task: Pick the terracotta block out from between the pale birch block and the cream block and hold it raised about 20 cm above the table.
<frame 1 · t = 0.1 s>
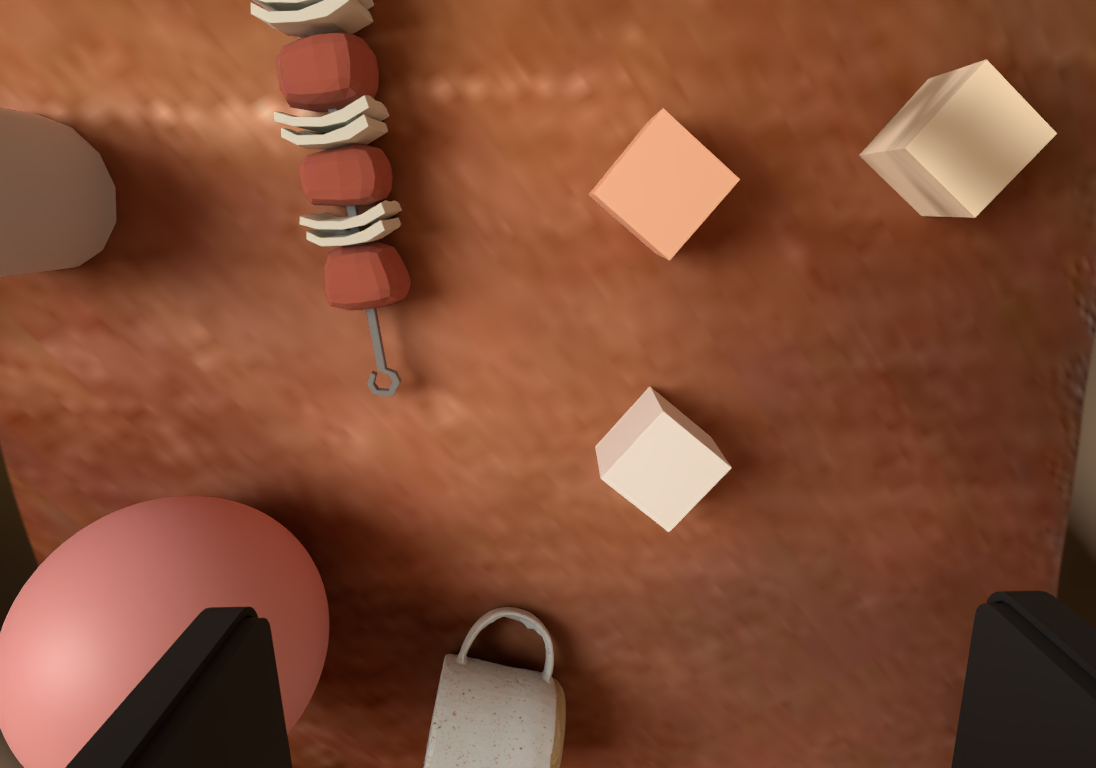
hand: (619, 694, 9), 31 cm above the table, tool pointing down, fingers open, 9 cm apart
terracotta block: (651, 188, 37), on the table
ceramic mug: (498, 667, 45), on the table
balloon: (251, 595, 44), on the table
birch block: (924, 149, 36), on the table
skewer: (349, 123, 37), on the table
cup: (44, 194, 38), on the table
cream block: (652, 441, 41), on the table
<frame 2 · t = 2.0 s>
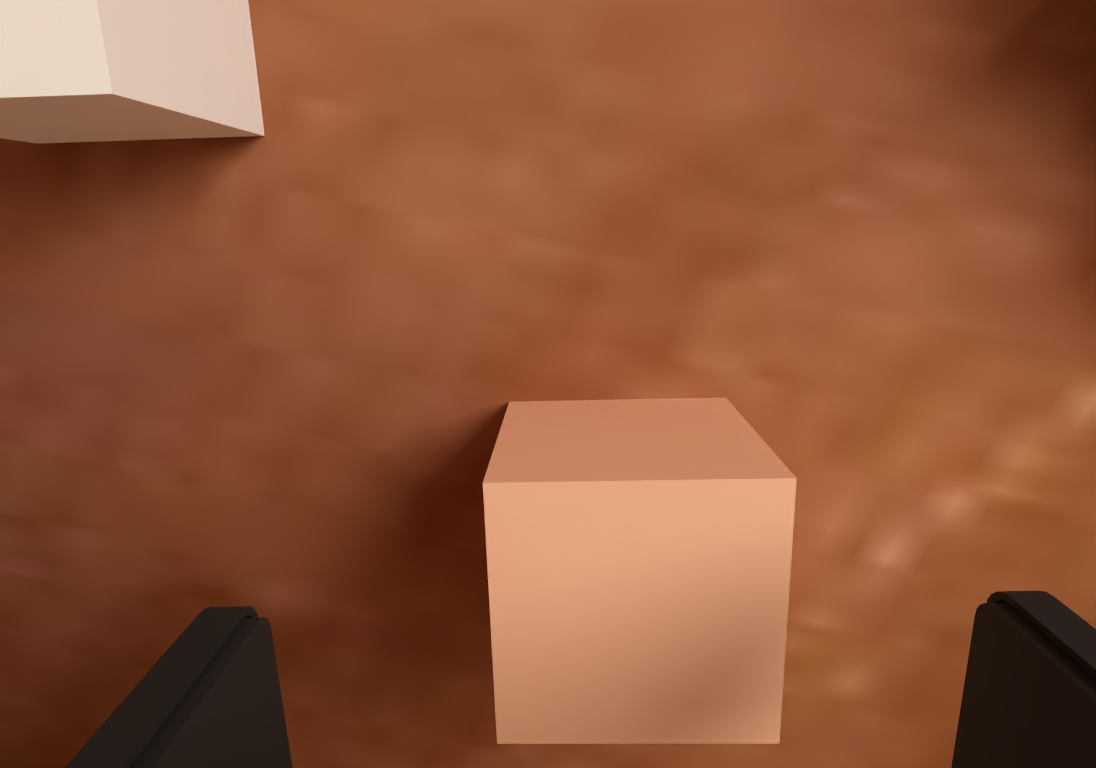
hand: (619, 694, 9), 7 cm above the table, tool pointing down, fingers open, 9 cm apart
terracotta block: (617, 498, 16), on the table
cream block: (132, 12, 14), on the table
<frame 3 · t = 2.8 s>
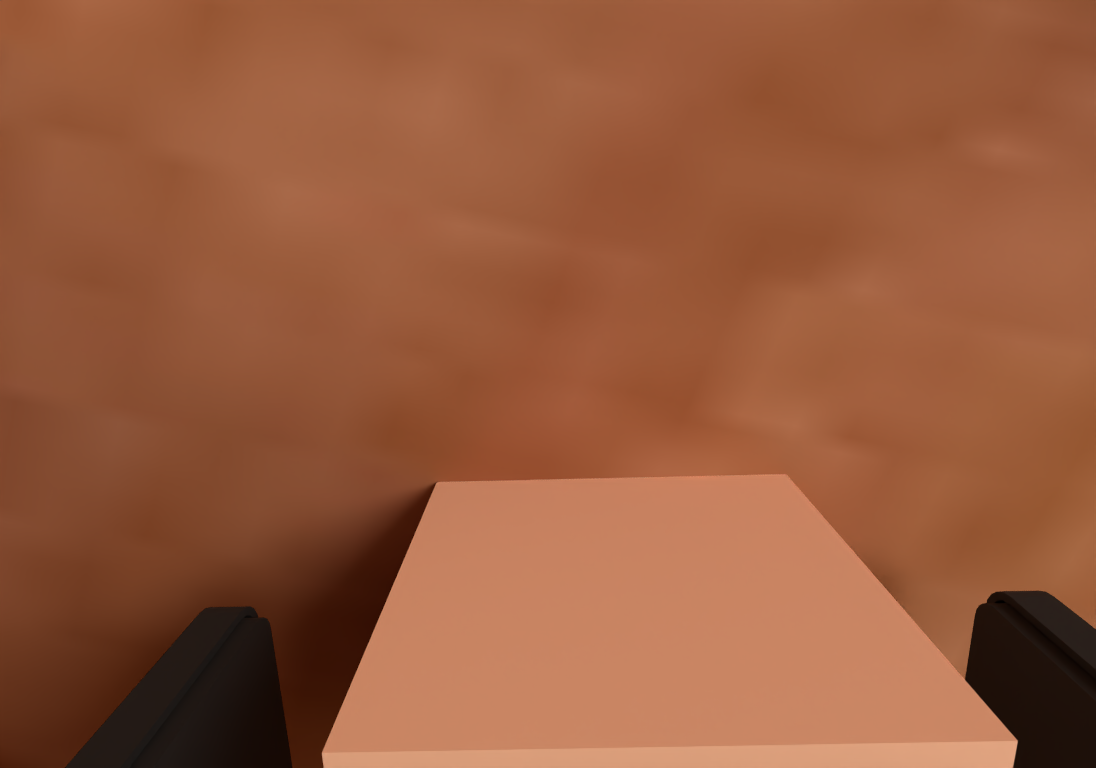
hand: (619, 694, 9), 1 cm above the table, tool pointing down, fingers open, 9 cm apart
terracotta block: (611, 627, 10), on the table
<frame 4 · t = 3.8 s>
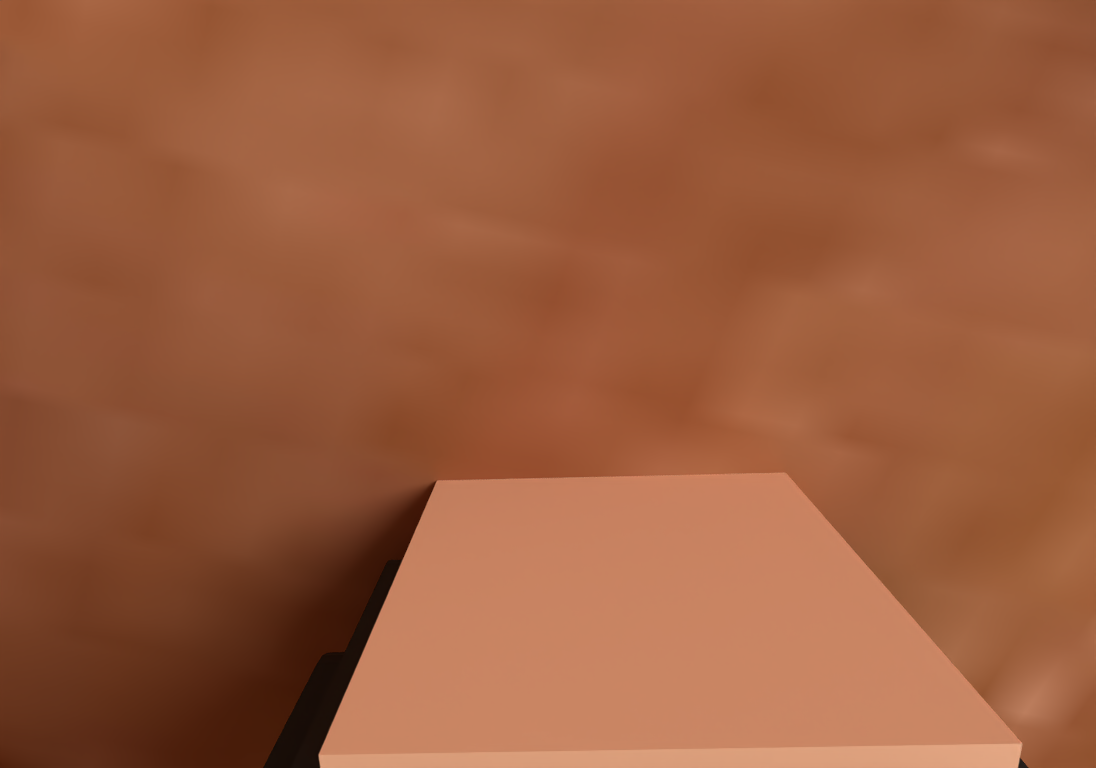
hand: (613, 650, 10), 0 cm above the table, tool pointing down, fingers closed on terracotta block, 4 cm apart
terracotta block: (611, 628, 10), on the table, touching gripper
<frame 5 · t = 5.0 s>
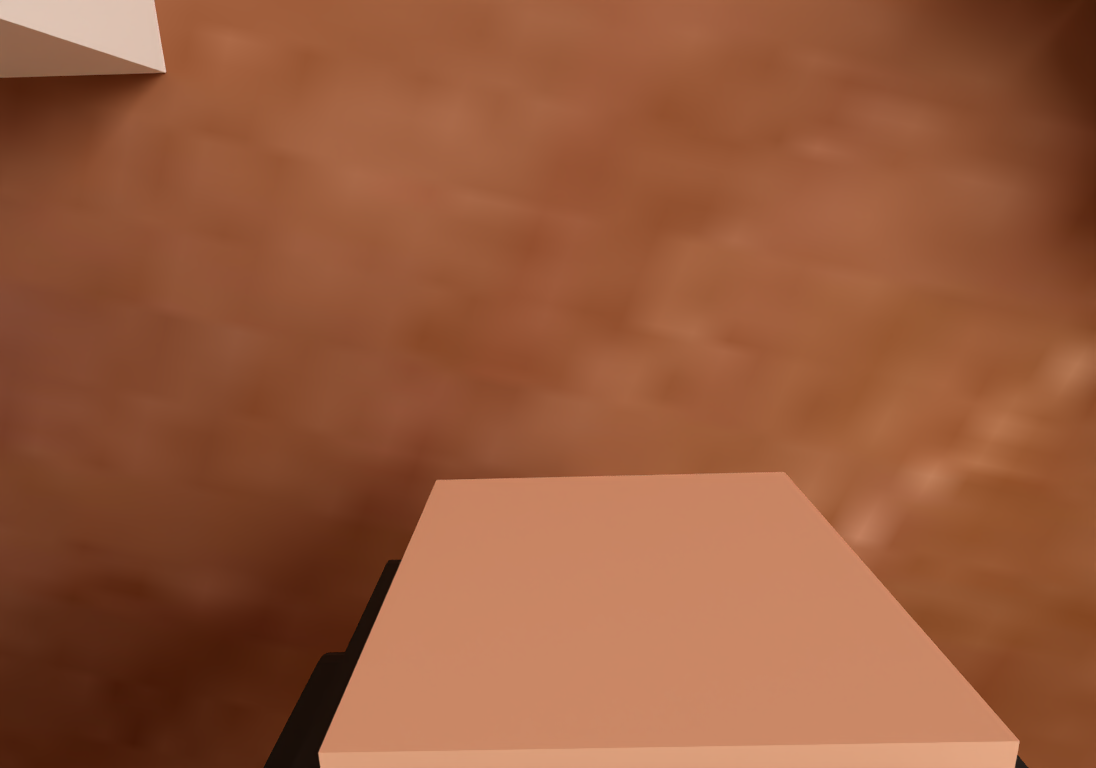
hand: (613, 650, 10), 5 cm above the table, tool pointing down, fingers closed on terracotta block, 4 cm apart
terracotta block: (610, 627, 10), point 5 cm above the table, touching gripper
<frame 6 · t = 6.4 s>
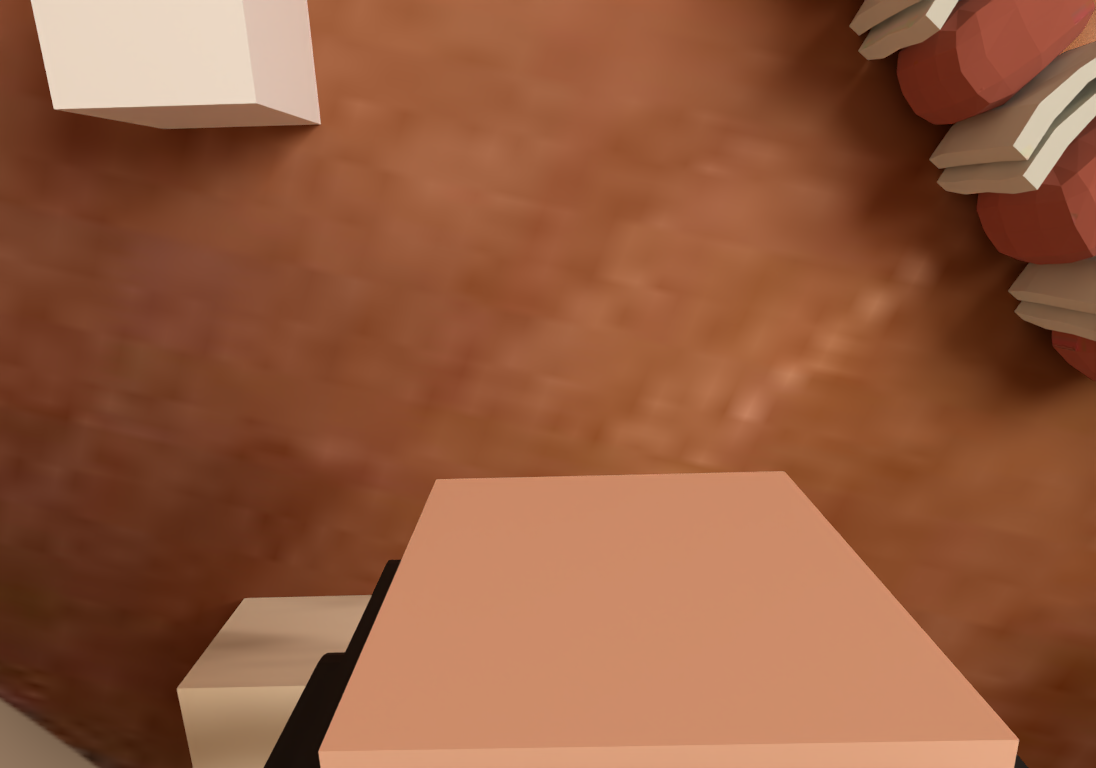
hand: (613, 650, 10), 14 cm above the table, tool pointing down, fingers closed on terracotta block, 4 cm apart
terracotta block: (610, 627, 10), point 14 cm above the table, touching gripper
birch block: (317, 650, 27), on the table
skewer: (989, 132, 22), on the table
cream block: (230, 40, 21), on the table
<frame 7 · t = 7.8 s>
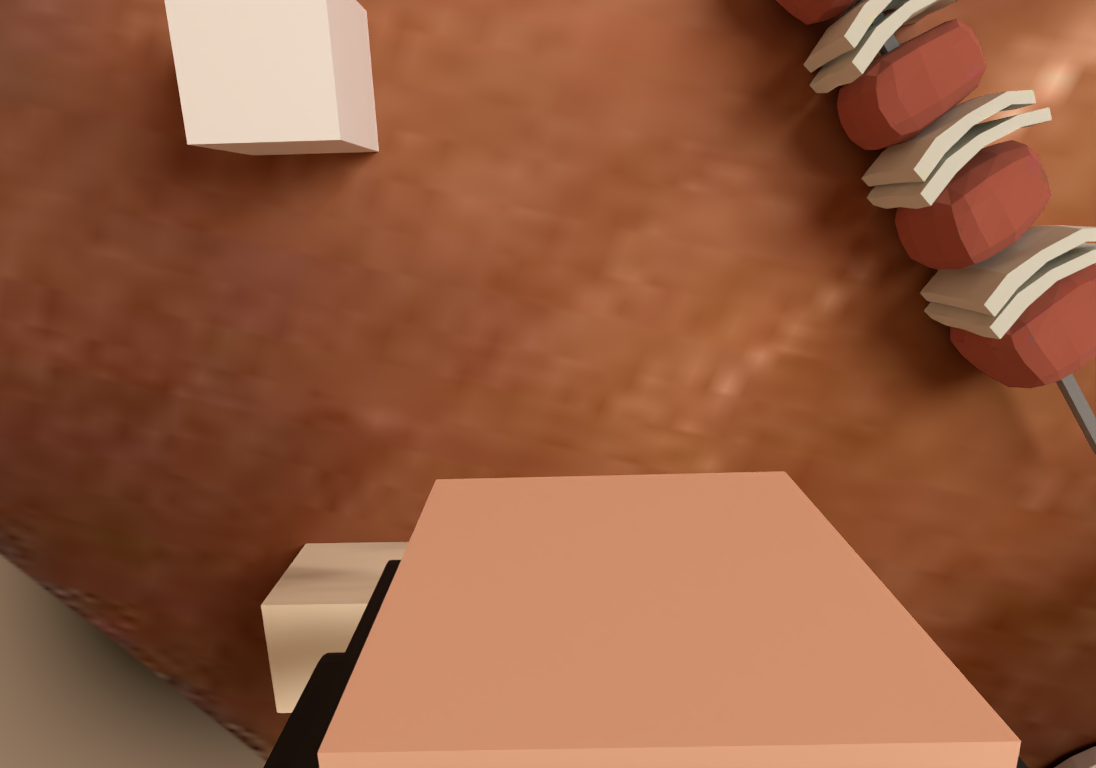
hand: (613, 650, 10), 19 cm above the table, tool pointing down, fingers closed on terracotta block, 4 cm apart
terracotta block: (610, 627, 10), point 19 cm above the table, touching gripper
birch block: (365, 589, 32), on the table
skewer: (912, 161, 27), on the table
cream block: (309, 85, 26), on the table
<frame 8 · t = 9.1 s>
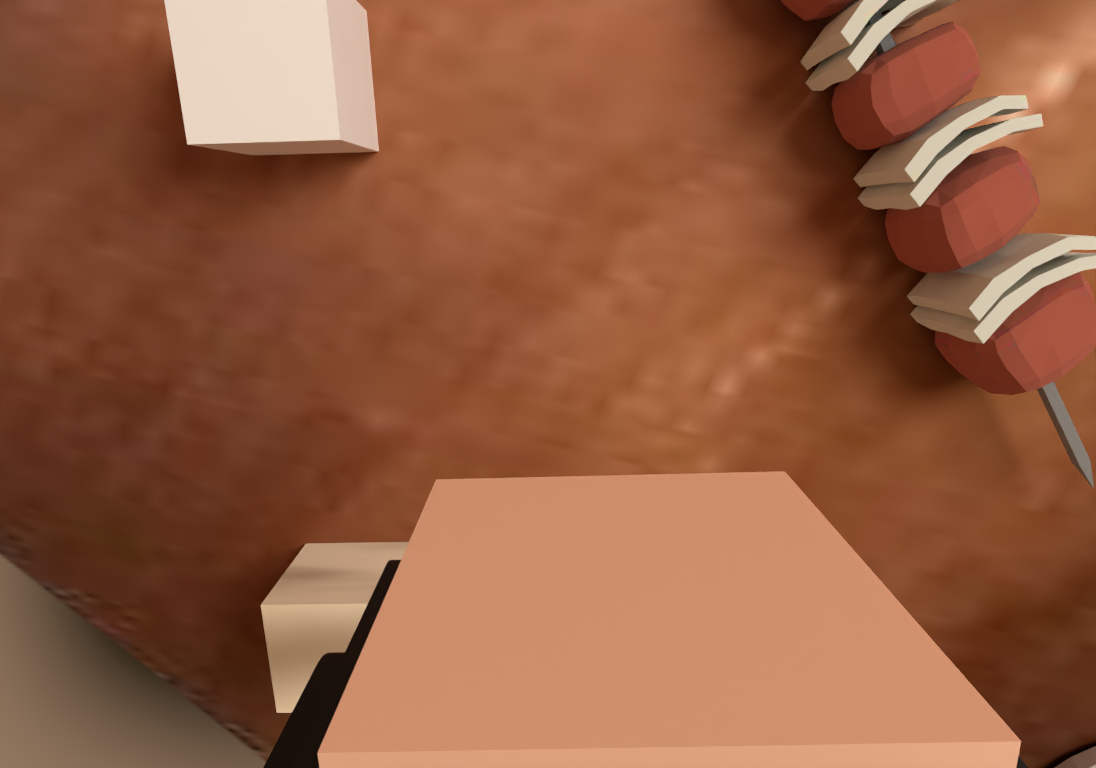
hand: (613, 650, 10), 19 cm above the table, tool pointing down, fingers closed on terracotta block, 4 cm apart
terracotta block: (610, 627, 10), point 19 cm above the table, touching gripper
birch block: (365, 589, 32), on the table
skewer: (904, 164, 27), on the table
cream block: (309, 85, 26), on the table
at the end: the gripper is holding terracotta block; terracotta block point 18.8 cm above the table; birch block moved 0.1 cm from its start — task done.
